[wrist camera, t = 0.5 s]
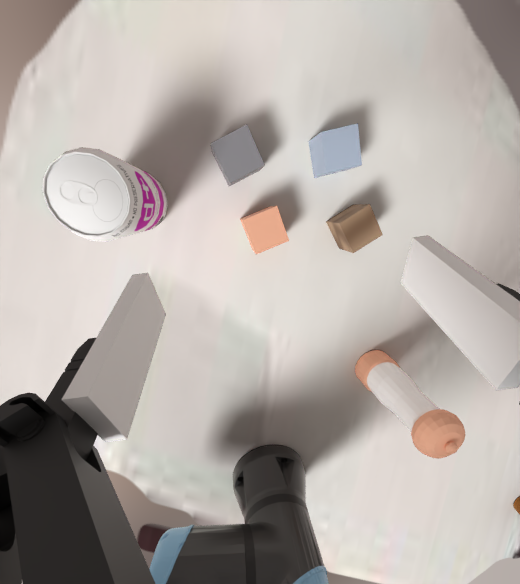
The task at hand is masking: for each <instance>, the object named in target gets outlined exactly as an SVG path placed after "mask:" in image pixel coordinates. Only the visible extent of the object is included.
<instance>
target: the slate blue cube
mask: <svg viewBox="0 0 520 584" xmlns="http://www.w3.org/2000/svg"><path fill="white" fill-rule="evenodd" d="M309 147H310V154H311V160H312V167H313V174H314V178H316V177H320V176H324V175H328V174H333V173H337V172H341V171H345V170H348V169H351V168H355V167H358V166H361V165H362V161H361V151H360V140H359V129H358V123H357V124H353V125H349V126H344V127H340V128H336V129H332V130H327V131H323V132H320V133H319V134H318V135H316V136H315V137H314V138H312V139H311V140H310V141H309Z"/></svg>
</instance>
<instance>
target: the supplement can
mask: <svg viewBox="0 0 520 584" xmlns="http://www.w3.org/2000/svg"><path fill="white" fill-rule="evenodd" d="M43 195H44V198H45V201H46V204H47V207H48V209H49V210H50V211H51V213H52V214H53V216H54V217H55V218H56V220H57V221H59V222H60V223H61V224H62V225H64V226H65V227H66V228H68V229H69V230H70V231H72V232H73V233H74V234H75V235H78V236H81V237H83V238H86V239H88V240H91V241H104V242H108V241H112V240H115V239H119V238H122V237H126V236H129V235H133V234H136V233H140V232H143V231H147V230H150V229H153V228H155V227H156V226H157V225H159V224H160V223H161V222H162V220H163V218H164V217H165V215H166V211H167V205H168V203H167V198H166V193H165V191H164V189H163V188H162V186H161V184H160V183H159V182H158V181H157V180H156V179H155V178H154V177H153V176H152V175H151V174H149V173H147V172H145V171H143V170H141V169H139V168H137V167H135V166H133V165H131V164H129V163H127V162H125V161H123V160H121V159H119V158H117V157H115V156H112V155H110V154H108V153H106V152H104V151H102V150H100V149H92V148H83V147H81V148H78V149H74V150H70V151H66V152H65V153H63V154H62V155H61V156H59V157H58V158H57V159H56V160H54V161H53V162H52V163H51V164H49V166H48V168H47V171H46V173H45V175H44V177H43Z"/></svg>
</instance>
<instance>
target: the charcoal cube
mask: <svg viewBox="0 0 520 584" xmlns="http://www.w3.org/2000/svg"><path fill="white" fill-rule="evenodd" d="M211 149H212V153H213V155H214V157H215V159H216V161H217V163H218V165H219V167H220V169H221V171H222V173H223V175H224V177H225V179H226V181H227V183H228V186H231V185H233V184H235V183H237V182H238V181H240V180H242V179H244V178H246V177H248V176H250V175H252V174H254V173H256V172H257V171H259V170H260V169H261V168H262V167H263V166H264V165H265V164H264V162H263V160H262V158H261V155H260V153H259V151H258V148H257V146H256V144H255V141H254V139H253V137H252V134H251V132H250V130H249V128H248V125H247V124H246V125H244V126H243V127H241V128H239V129H237V130H235V131H233V132H231V133H229V134H227V135H226V136H224V137H222V138H220V139H218V140H216V141H214V142H212V143H211Z"/></svg>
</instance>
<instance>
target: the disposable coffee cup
mask: <svg viewBox="0 0 520 584" xmlns="http://www.w3.org/2000/svg"><path fill="white" fill-rule="evenodd" d="M513 507H514V508H515V509H516V511H517V512H518V513H519V514H520V496H519V497H518V498H517V499H516V500H515V502H514V505H513Z"/></svg>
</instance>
